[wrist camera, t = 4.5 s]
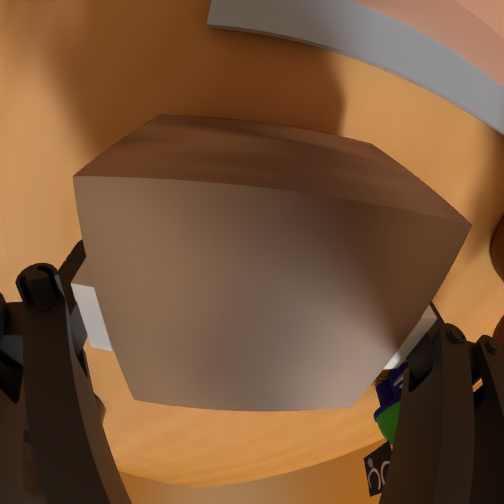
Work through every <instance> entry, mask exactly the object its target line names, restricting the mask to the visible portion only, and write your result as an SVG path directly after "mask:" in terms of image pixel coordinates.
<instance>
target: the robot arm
mask: <svg viewBox="0 0 504 504" xmlns="http://www.w3.org/2000/svg"><path fill="white" fill-rule="evenodd" d="M15 283H16V286H17V288H18V291H19V293H20V296H21V298H22V301H23V302H10V303H6V301H5V299H4V297H3V295H2V294H1V293H0V504H132V503H131V501H130V498H129V496H128V494H127V492H126V489H125V487H124V484H123V482H122V480H121V477H120V475H119V472H118V470H117V467H116V464H115V462H114V459H113V456H112V453H111V450H110V447H109V444H108V441H107V438H106V435H105V432H104V429H103V425H102V424H103V420H104V416H105V412H106V409H105V407H104V405H103V404H102V402H101V401H100V400H99V399H98V398H97V397H96V396H95V395H94V392H93V387H92V383H91V378H90V374H89V369H88V364H87V358H86V353H85V351H84V349H83V346H84V343H85V341H86V338H87V337H88V340H89V343H90V345H91V347H94V348H98V349H103V350H107V351H113V346H112V343H111V340H110V337H109V335H108V332H107V329H106V326H105V323H104V319H103V316H102V313H101V310H100V307H99V303H98V300H97V296H96V293H95V289H94V285H93V282H92V278H91V274H90V270H89V266H88V262H87V257H86V253H85V248H84V244H83V239H82V240H81V241H79V242H78V243H77V244H76V245H75V247H74V248H73V250H72V251H71V253H70V254H69V255H68V257H67V258H66V261H64V263H63V264H62V266H61V267H60V269H59V270H58V272H57V269H56V268H55V267H54V266H53V265H51V264H47V263H37V264H34V265H31V266H29V267H27V268H26V269H24V270H23V271H22V272H21V273H20V274H19V275H18V277H17V279H16V282H15ZM405 359H407V362H408V364H409V366H408V367H407V368H406V369H405V370H404V372H403V373H402V374H401V375H400V376H399V377H398V378H397V379H396V380H395V382H394V384H393V385H394V386H396V385H397V384H398V383H399V382H400V381H401V380H403V383H402V384H401V385H400V386H399V388H402V392H401V400H400V408H399V415H398V421H397V427H396V433H395V439H394V444H393V449H392V454H391V458H390V463H389V467H388V471H387V475H386V479H385V483H384V487H383V490H382V494H381V498H380V501H379V504H504V357H503V354H502V352H501V349H500V347H499V346H498V344H497V343H496V341H495V340H494V339H493V338H492V337H490V336H488V335H482V336H481V337H480V338H479V339H478V340H477V342H476V343H473V342H470V341H467V340H466V338H465V335H464V334H463V333H462V331H461V330H460V329H459V328H458V327H456V326H454V325H453V324H449V323H444V321H443V319H442V318H441V316H440V314H439V313H438V311H437V309H436V307H435V306H434V304H433V303H432V301H431V302H430V304H429V306H428V307H427V309H426V310H425V312H424V313H423V315H422V317H421V318H420V320H419V321H418V323H417V324H416V325H415V327H414V328H413V330H412V331H411V333H410V334H409V336H408V337H407V338H406V340H405V341H404V343H403V344H402V345H401V347H400V348H399V349H398V351H397V352H396V353H395V355H394V356H393V357H392V359H391V360H390V361H389V362H388V364H387V365H386V366H385V368H384V369H395V368H398V367H399V366H400V365H401V364H402V363H403V361H404V360H405ZM480 379H482V382H483V385H482V386H481V387H480V388H479V389H477V390H476V391H475V392H473V387H472V386H473V385H474V384H476V383H477V382H478V381H479V380H480Z"/></svg>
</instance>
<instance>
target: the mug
mask: <svg viewBox="0 0 504 504" xmlns="http://www.w3.org/2000/svg"><path fill="white" fill-rule="evenodd" d="M491 261H492V265H493V267H494V269H495V271H496V273H497V274H498V275H499V277H500V278H501V279H502V281H503V282H504V217H503V219H502V220H501V222H500V224H499V226H498V228H497V230H496V233H495V235H494V239H493V242H492V247H491ZM492 338H493V339H494V340H495V341H496V343H497V344H498V346H499V347H500V349H501V352H502V354H503V357H504V315H503V317H502V318H501V319H500V321H499V323H498V324H497V326H496V328H495V330H494V333H493V336H492Z"/></svg>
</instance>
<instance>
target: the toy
mask: <svg viewBox="0 0 504 504" xmlns="http://www.w3.org/2000/svg"><path fill="white" fill-rule="evenodd" d="M408 366H409V364H408V362H405V363H402V364H401V365H400V366H399V367H398V368H395V369H392V370H391V371H390V372H389V373H388V378H389V379H387V380H385V381H383V382H382V383H380V384H379V385H378V386H377V387H376V391H377V395H378V399H379V402H380V406H381V407H379V408H378V409H377V410H376V411H375V413H374V420H375V421H376V422H377V423H378V426H379V428H380V430H381V432H382V434H383V436H384V437H385V439H386V440H387V442H386V443H384V444H383V445H382V446H380V447H379V448H378V449H376V450H375V451H374V452H372V453H371V454H370V455H368V456H367V457H365V458H364V462H365V468H366V474H367V480H368V486H369V493H370V496H374V495H376V494H379V493H382V490H383V487H384V483H385V479H386V475H387V471H388V467H389V463H390V458H391V454H392V450H391V446H390V444H391V445H392V446H393V444H394V439H395V433H396V427H397V421H398V415H399V408H400V400H401V392H402V388H399V386H400V385H401V384H402V383H403V380H401V381H400V382H399V383H398V384H397V385H396V386H394V385H393V384H394V382H395V380H396V379H397V378H398V377H399V376H400V375H401V374H402V373H403V372H404V370H405V369H406V368H407V367H408ZM380 498H381V497H380Z"/></svg>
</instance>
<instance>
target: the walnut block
mask: <svg viewBox="0 0 504 504" xmlns="http://www.w3.org/2000/svg"><path fill="white" fill-rule="evenodd" d="M73 183H74V191H75V198H76V205H77V211H78V217H79V223H80V228H81V234H82V239H83V244H84V248H85V253H86V257H87V262H88V266H89V270H90V274H91V278H92V282H93V285H94V289H95V293H96V296H97V300H98V303H99V307H100V310H101V313H102V316H103V319H104V323H105V326H106V329H107V332H108V335H109V337H110V340H111V343H112V346H113V349H114V351H115V354H116V357H117V359H118V362H119V365H120V367H121V370H122V372H123V375H124V377H125V379H126V382H127V384H128V387H129V389H130V391H131V393H132V396H133V398H134V400H138V401H144V402H151V403H157V404H164V405H172V406H181V407H190V408H201V409H214V410H232V411H301V410H318V409H331V408H342V407H351V406H352V405H353V404H354V403H355V402H356V401H357V400H358V398H359V397H360V396H361V395H362V394H363V393H364V392H365V390H366V389H367V388H368V387H369V386H370V385H371V383H372V382H373V381H374V380H375V379H376V377H377V376H378V375H379V374H380V373H381V371H382V370H383V369H384V368H385V366H386V365H387V364H388V362H389V361H390V360H391V359H392V357H393V356H394V355H395V353H396V352H397V351H398V349H399V348H400V347H401V345H402V344H403V343H404V341H405V340H406V338H407V337H408V336H409V334H410V333H411V331H412V330H413V328H414V327H415V325H416V324H417V323H418V321H419V320H420V318H421V317H422V315H423V313H424V312H425V310H426V309H427V307H428V306H429V304H430V302H431V301H432V299H433V298H434V296H435V294H436V293H437V291H438V289H439V288H440V286H441V284H442V283H443V281H444V279H445V277H446V276H447V274H448V272H449V270H450V268H451V266H452V265H453V263H454V261H455V259H456V257H457V255H458V253H459V251H460V249H461V247H462V245H463V243H464V241H465V239H466V237H467V235H468V233H469V231H470V229H471V226H472V224H471V223H470V222H468V221H467V220H466V219H465V218H464V217H463V216H462V215H461V214H460V213H459V212H458V211H457V210H456V209H454V208H453V207H452V206H451V205H450V204H449V203H448V202H447V201H445V200H444V199H443V198H442V197H441V196H440V195H438V194H437V193H436V192H435V191H434V190H432V189H431V188H430V187H429V186H428V185H426V184H425V183H424V182H423V181H421V180H420V179H419V178H418V177H416V176H415V175H414V174H413V173H411V172H410V171H409V170H407V169H406V168H405V167H403V166H402V165H401V164H399V163H398V162H397V161H395V160H394V159H393V158H391V157H390V156H388V155H387V154H386V153H384V152H383V151H381V150H380V149H378V148H377V147H375V146H374V145H372V144H370V143H366V142H362V141H358V140H354V139H350V138H345V137H341V136H336V135H332V134H327V133H322V132H317V131H311V130H306V129H300V128H294V127H288V126H282V125H275V124H268V123H261V122H253V121H244V120H235V119H224V118H212V117H198V116H178V115H159V116H157V117H155V118H154V119H152V120H150V121H149V122H147V123H146V124H144V125H143V126H141V127H139V128H138V129H136V130H135V131H133V132H132V133H130V134H129V135H127V136H126V137H124V138H123V139H121V140H120V141H119V142H117V143H116V144H114V145H113V146H112V147H110V148H109V149H107V150H106V151H105V152H103V153H102V154H101V155H99V156H98V157H97V158H95V159H94V160H93V161H91V162H90V163H89V164H87V165H86V166H85V167H84V168H82V169H81V170H80V171H79V172H77V173H76V174H75V175H74V176H73Z"/></svg>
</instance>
